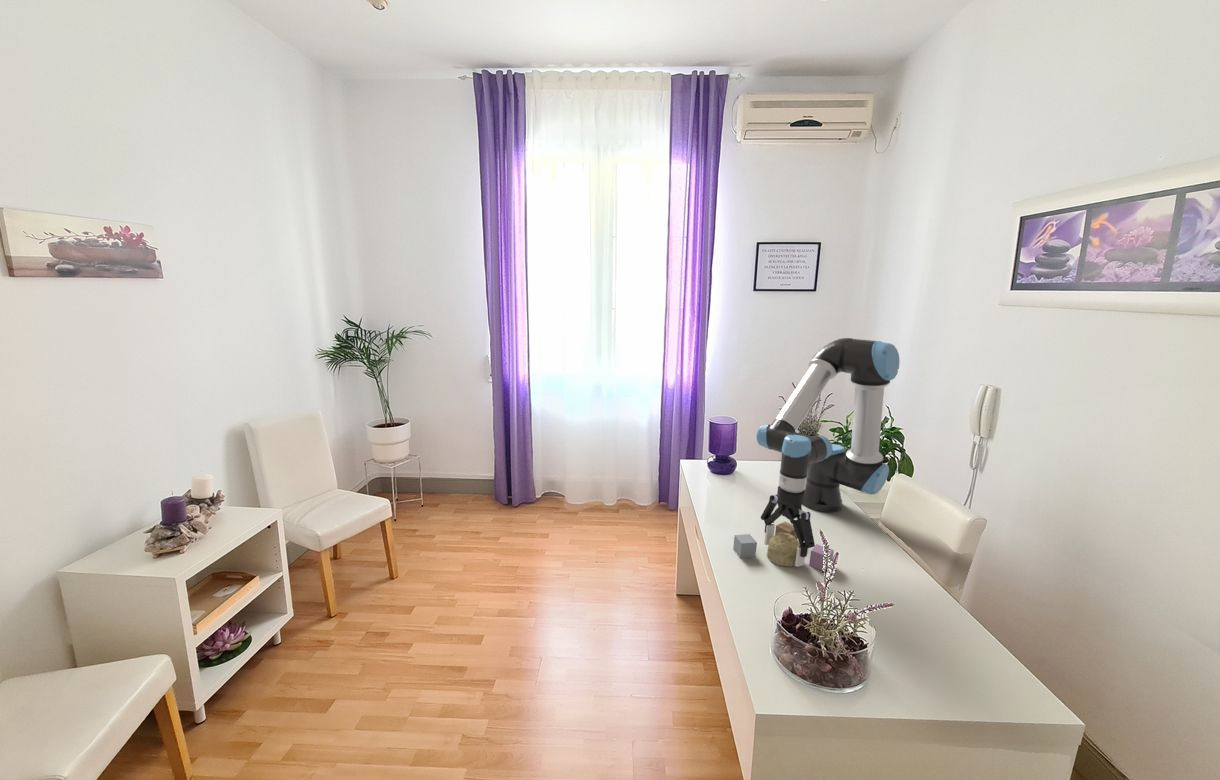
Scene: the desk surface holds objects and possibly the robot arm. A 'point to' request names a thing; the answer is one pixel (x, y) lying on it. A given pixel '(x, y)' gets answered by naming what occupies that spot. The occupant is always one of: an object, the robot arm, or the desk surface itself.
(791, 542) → the decorative object
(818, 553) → the plum cube
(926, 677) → the desk surface
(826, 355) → the robot arm
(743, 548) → the slate cube
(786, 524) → the walnut cube
